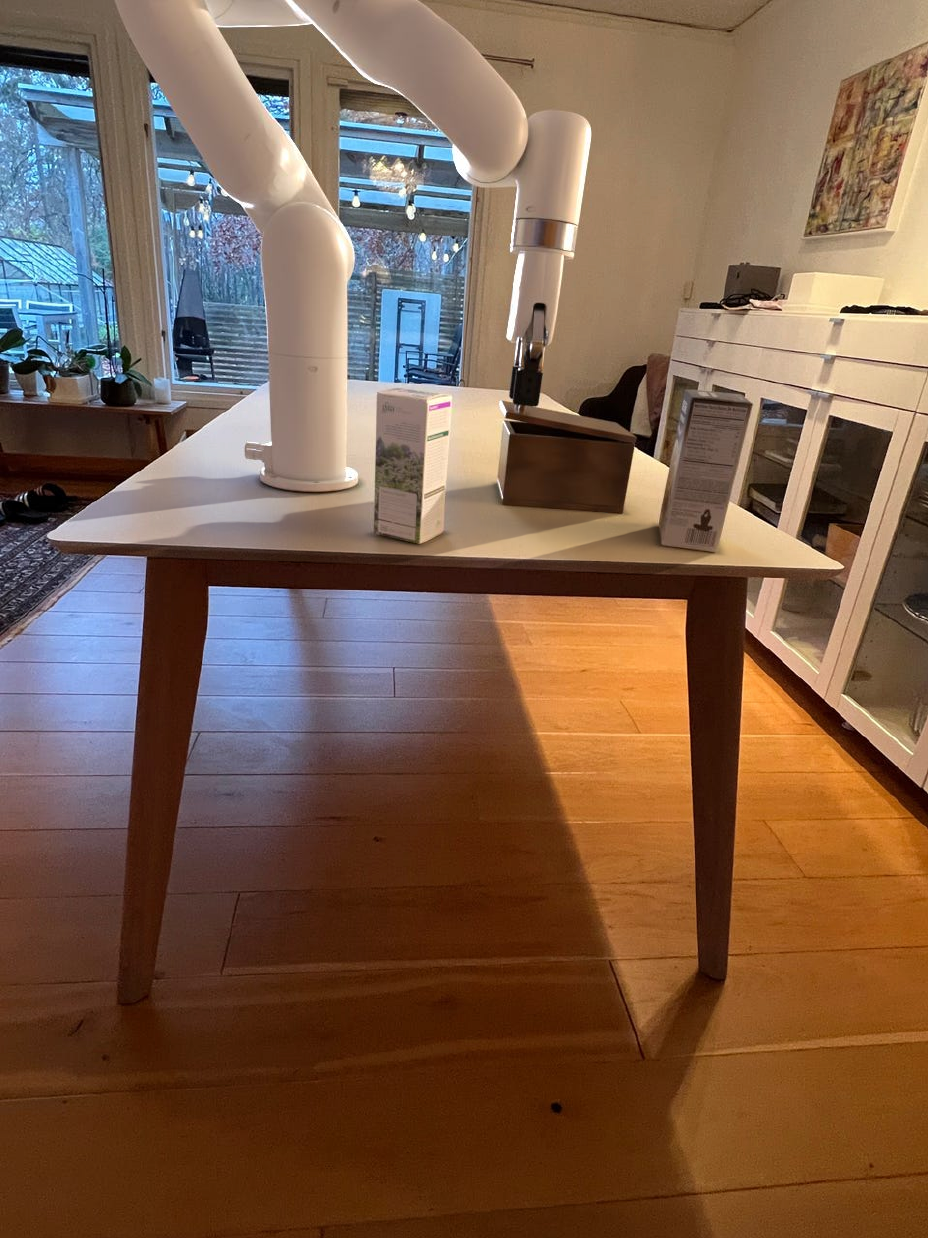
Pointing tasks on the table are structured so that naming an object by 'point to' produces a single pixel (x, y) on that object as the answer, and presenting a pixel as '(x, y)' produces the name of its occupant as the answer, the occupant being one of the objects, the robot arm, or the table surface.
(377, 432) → the syrup box
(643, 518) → the table surface
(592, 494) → the brown wooden box
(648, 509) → the table surface
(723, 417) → the coffee box
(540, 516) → the table surface
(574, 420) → the lid
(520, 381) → the robot arm
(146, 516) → the table surface
